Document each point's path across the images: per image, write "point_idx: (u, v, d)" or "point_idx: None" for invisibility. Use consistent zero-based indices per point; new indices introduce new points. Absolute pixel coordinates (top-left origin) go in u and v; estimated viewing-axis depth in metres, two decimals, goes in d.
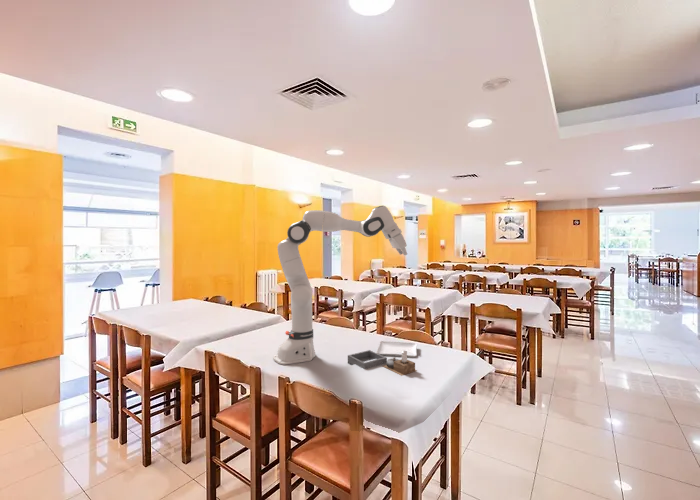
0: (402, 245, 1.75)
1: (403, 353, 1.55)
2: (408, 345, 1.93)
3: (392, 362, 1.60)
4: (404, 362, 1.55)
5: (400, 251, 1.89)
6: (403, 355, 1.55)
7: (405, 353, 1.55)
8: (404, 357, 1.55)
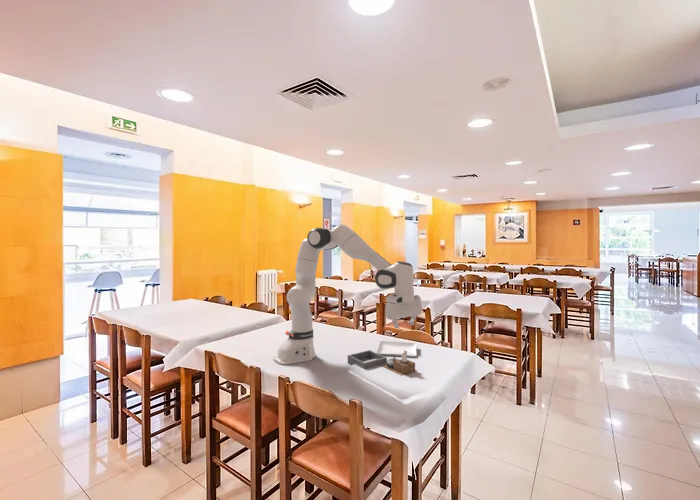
0: (387, 316, 1.50)
1: (403, 353, 1.55)
2: (408, 345, 1.93)
3: (392, 362, 1.60)
4: (404, 362, 1.55)
5: (410, 321, 1.58)
6: (403, 355, 1.55)
7: (405, 353, 1.55)
8: (404, 357, 1.55)
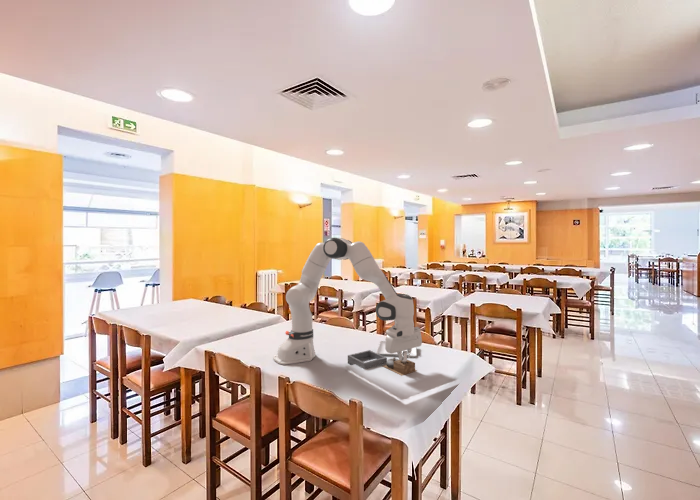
0: (387, 349, 1.51)
1: (403, 353, 1.55)
2: None
3: (392, 362, 1.60)
4: (404, 362, 1.55)
5: None
6: (403, 355, 1.55)
7: (405, 353, 1.55)
8: (404, 357, 1.55)
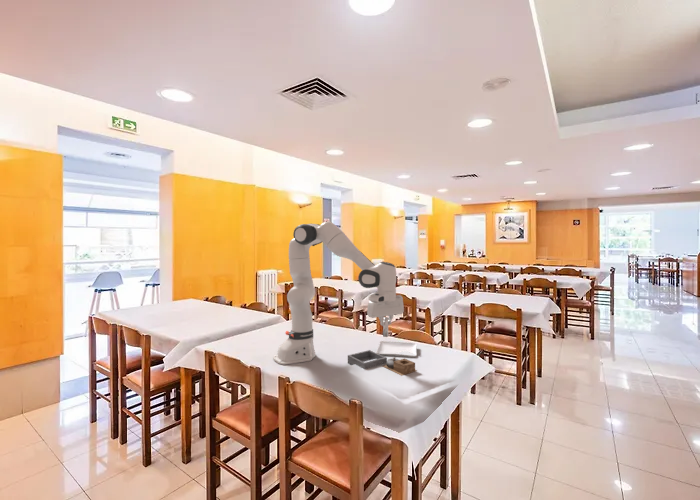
0: (368, 314, 1.56)
1: (385, 319, 1.60)
2: (408, 345, 1.93)
3: (392, 362, 1.60)
4: (385, 328, 1.60)
5: None
6: (385, 321, 1.60)
7: (387, 319, 1.60)
8: (385, 323, 1.60)
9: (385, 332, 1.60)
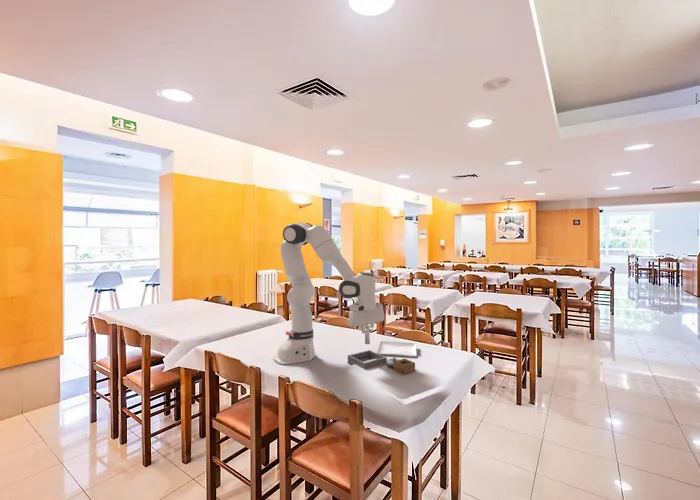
0: (350, 323, 1.63)
1: (366, 327, 1.67)
2: (408, 345, 1.93)
3: (392, 362, 1.60)
4: (367, 335, 1.67)
5: None
6: (366, 329, 1.67)
7: (368, 327, 1.67)
8: (367, 331, 1.67)
9: (367, 339, 1.67)
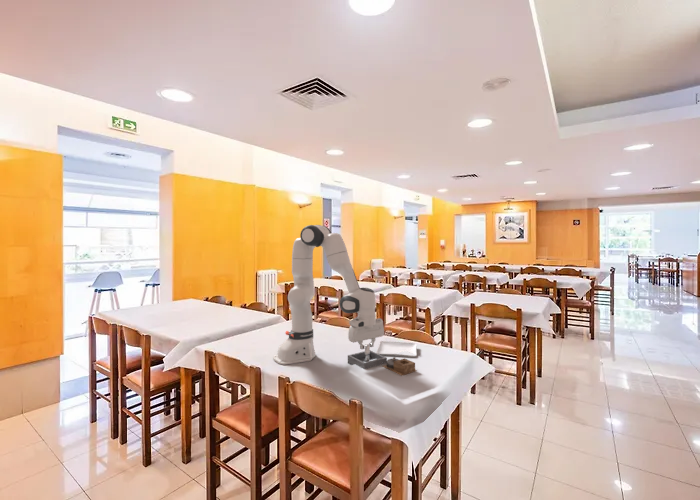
0: (349, 339, 1.63)
1: (366, 346, 1.67)
2: (408, 345, 1.93)
3: (392, 362, 1.60)
4: (367, 355, 1.67)
5: (370, 343, 1.70)
6: (366, 348, 1.67)
7: (368, 346, 1.67)
8: (367, 350, 1.67)
9: (366, 359, 1.67)
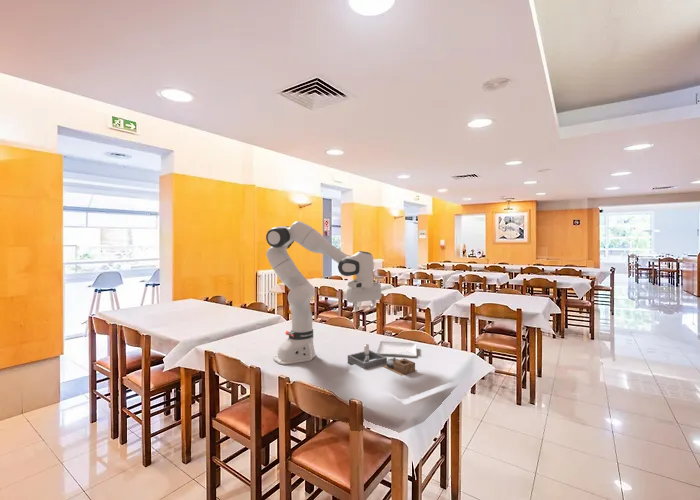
0: (347, 299, 1.68)
1: (365, 346, 1.67)
2: (408, 345, 1.93)
3: (392, 362, 1.60)
4: (366, 355, 1.67)
5: (370, 305, 1.75)
6: (365, 348, 1.67)
7: (367, 346, 1.67)
8: (366, 350, 1.67)
9: (366, 359, 1.67)
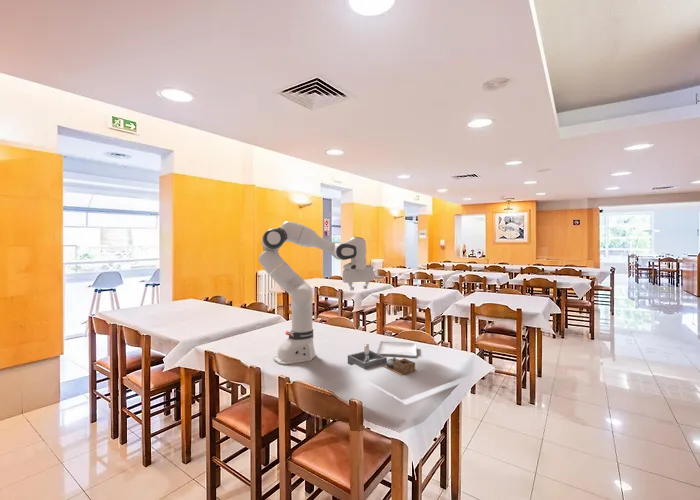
0: (343, 280, 1.86)
1: (365, 346, 1.67)
2: (408, 345, 1.93)
3: (392, 362, 1.60)
4: (366, 355, 1.67)
5: (364, 286, 1.94)
6: (365, 348, 1.68)
7: (367, 346, 1.67)
8: (366, 350, 1.67)
9: (366, 359, 1.67)
